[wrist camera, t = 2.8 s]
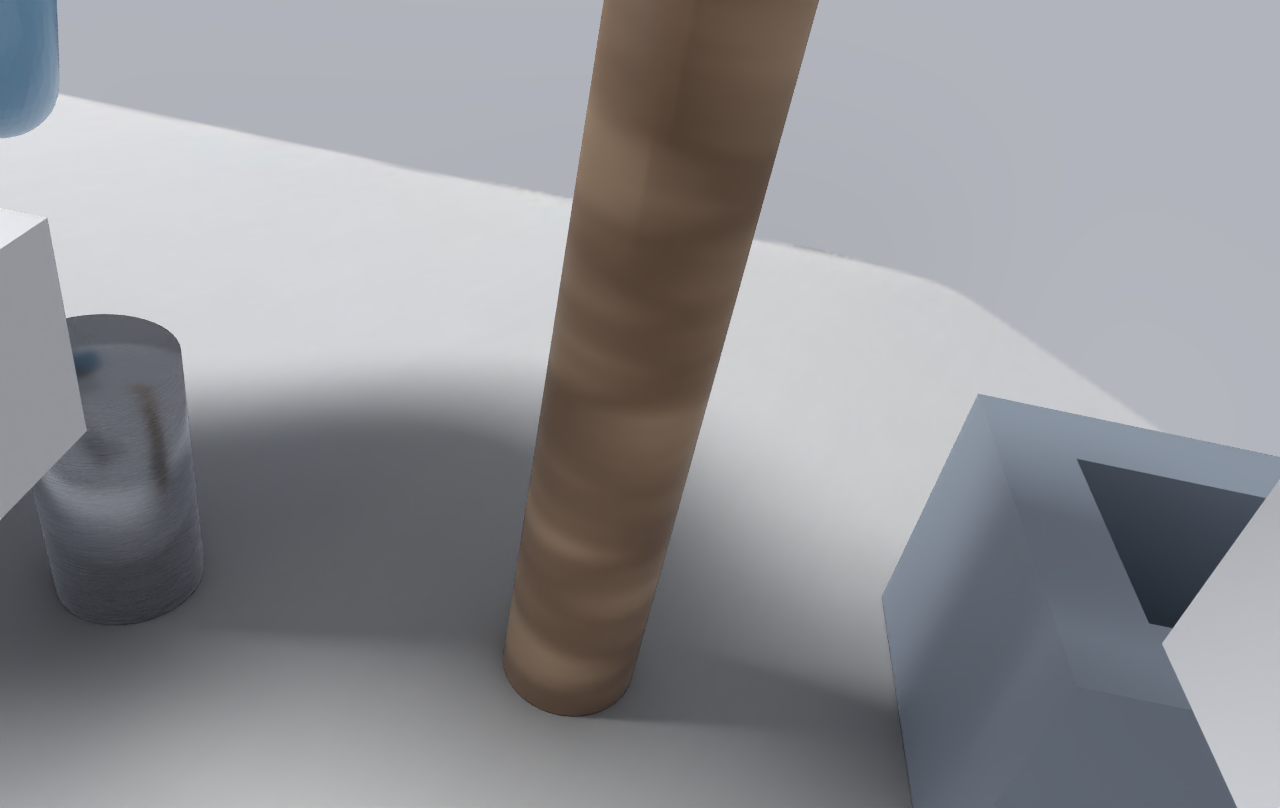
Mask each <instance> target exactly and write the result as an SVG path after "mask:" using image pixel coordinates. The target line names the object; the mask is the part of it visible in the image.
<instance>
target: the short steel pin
mask: <svg viewBox="0 0 1280 808" xmlns="http://www.w3.org/2000/svg"><path fill="white" fill-rule="evenodd" d="M66 322H67V327H68V332H69V338H70V343H71V349H72V354H73V359H74V365H75V370H76V376H77V381H78V386H79V392H80V397H81V403H82V408H83V413H84V419H85V424H86V430H87V431H86V432H85V433H84V434H83V435H82V436H81V437H80V438H79V439H78V441H77V442H76V443H75V444H74V445H73V446H72V447H71V448H70V449H69V450H68V451H67V452H66V453H65V454H64V455H63V456H62V457H61V458H60V459H59V460H58V461H57V462H56V463H55V464H54V465H53V466H52V467H51V468H50V469H49V470H48V471H47V472H46V474H45V475H44V476H43V477H42V478H41V479H40V480H39V481H38V482H37V483H36V484H35V485H34V486H33V487H32V491H33V495H34V499H35V504H36V508H37V512H38V516H39V520H40V525H41V529H42V533H43V537H44V541H45V546H46V550H47V554H48V558H49V562H50V567H51V571H52V575H53V579H54V583H55V587H56V592H57V595H58V598H59V600H60V602H61V604H62V605H63V606H64V607H65V608H66V609H67V610H68V611H69V612H70V613H72V614H73V615H75V616H77V617H78V618H81V619H83V620H86V621H89V622H93V623H98V624H105V625H125V624H132V623H138V622H142V621H146V620H149V619H152V618H155V617H158V616H160V615H163V614H165V613H167V612H169V611H171V610H172V609H174V608H175V607H177V606H179V605H180V604H181V603H183V602H184V601H185V600H186V599H187V598H188V597H189V596H190V595H191V594H192V593H193V592H194V591H195V589H196V588H197V587H198V585H199V583H200V581H201V579H202V576H203V572H204V558H203V548H202V539H201V530H200V521H199V512H198V502H197V493H196V484H195V475H194V466H193V456H192V447H191V438H190V429H189V420H188V410H187V401H186V392H185V383H184V374H183V364H182V355H181V348H180V344H179V342H178V341H177V339H176V338H175V337H174V335H173V334H172V333H170V332H169V331H168V330H167V329H165V328H163V327H162V326H160V325H158V324H156V323H153V322H150V321H148V320H145V319H141V318H137V317H131V316H125V315H112V314H97V315H84V316H77V317H71V318H66Z"/></svg>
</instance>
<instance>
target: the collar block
mask: <svg viewBox="0 0 1280 808" xmlns="http://www.w3.org/2000/svg"><path fill="white" fill-rule="evenodd" d="M1279 479H1280V457H1277V456H1272V455H1268V454H1263V453H1258V452H1253V451H1249V450H1244V449H1239V448H1234V447H1230V446H1224V445H1220V444H1215V443H1210V442H1206V441H1200V440H1196V439H1191V438H1186V437H1181V436H1177V435H1172V434H1167V433H1163V432H1158V431H1153V430H1148V429H1144V428H1139V427H1134V426H1129V425H1124V424H1120V423H1115V422H1110V421H1105V420H1101V419H1096V418H1091V417H1086V416H1082V415H1077V414H1072V413H1067V412H1062V411H1058V410H1053V409H1048V408H1043V407H1039V406H1034V405H1029V404H1024V403H1019V402H1015V401H1010V400H1005V399H1000V398H996V397H991V396H986V395H981V394H978V395H977V398H976V400H975V402H974V404H973V406H972V408H971V410H970V412H969V414H968V416H967V419H966V421H965V423H964V425H963V427H962V429H961V431H960V433H959V435H958V438H957V440H956V442H955V444H954V446H953V448H952V450H951V452H950V454H949V457H948V459H947V461H946V463H945V465H944V467H943V469H942V471H941V473H940V475H939V478H938V480H937V482H936V484H935V486H934V488H933V490H932V492H931V494H930V497H929V499H928V501H927V503H926V505H925V507H924V509H923V511H922V513H921V516H920V518H919V520H918V522H917V524H916V526H915V528H914V530H913V532H912V535H911V537H910V539H909V541H908V543H907V545H906V547H905V549H904V551H903V553H902V556H901V558H900V560H899V562H898V564H897V566H896V568H895V570H894V572H893V575H892V577H891V579H890V581H889V583H888V585H887V587H886V589H885V591H884V594H883V596H882V601H883V608H884V615H885V621H886V628H887V635H888V642H889V649H890V655H891V662H892V669H893V676H894V683H895V689H896V696H897V703H898V710H899V717H900V723H901V730H902V737H903V744H904V751H905V757H906V764H907V771H908V778H909V785H910V792H911V798H912V805H913V808H1237V806H1236V804H1235V802H1234V800H1233V797H1232V795H1231V793H1230V791H1229V789H1228V786H1227V784H1226V782H1225V780H1224V778H1223V776H1222V773H1221V771H1220V769H1219V767H1218V765H1217V763H1216V760H1215V758H1214V756H1213V754H1212V752H1211V749H1210V747H1209V745H1208V743H1207V741H1206V739H1205V736H1204V734H1203V732H1202V730H1201V728H1200V726H1199V723H1198V721H1197V719H1196V717H1195V715H1194V712H1193V710H1192V708H1191V706H1190V704H1189V702H1188V699H1187V697H1186V695H1185V693H1184V691H1183V688H1182V686H1181V684H1180V682H1179V680H1178V678H1177V675H1176V673H1175V671H1174V669H1173V667H1172V665H1171V662H1170V660H1169V658H1168V656H1167V654H1166V651H1165V649H1164V647H1163V645H1162V643H1163V641H1164V640H1165V639H1166V637H1167V636H1168V634H1169V633H1170V632H1171V630H1172V629H1173V627H1174V626H1175V625H1176V623H1177V622H1178V620H1179V619H1180V618H1181V616H1182V615H1183V613H1184V612H1185V611H1186V609H1187V608H1188V606H1189V605H1190V604H1191V602H1192V601H1193V599H1194V598H1195V597H1196V595H1197V594H1198V593H1199V591H1200V590H1201V588H1202V587H1203V586H1204V584H1205V583H1206V581H1207V580H1208V579H1209V577H1210V576H1211V574H1212V573H1213V572H1214V570H1215V569H1216V567H1217V566H1218V565H1219V563H1220V562H1221V560H1222V559H1223V558H1224V556H1225V555H1226V553H1227V552H1228V551H1229V549H1230V548H1231V546H1232V545H1233V544H1234V542H1235V541H1236V539H1237V538H1238V537H1239V535H1240V534H1241V532H1242V531H1243V530H1244V528H1245V527H1246V525H1247V524H1248V523H1249V521H1250V520H1251V518H1252V517H1253V516H1254V514H1255V513H1256V511H1257V510H1258V509H1259V507H1260V506H1261V505H1262V503H1263V502H1264V500H1265V499H1266V498H1267V496H1268V495H1269V493H1270V492H1271V491H1272V489H1273V488H1274V486H1275V485H1276V484H1277V482H1278V481H1279Z"/></svg>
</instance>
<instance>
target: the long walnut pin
mask: <svg viewBox="0 0 1280 808" xmlns="http://www.w3.org/2000/svg"><path fill="white" fill-rule="evenodd" d="M818 2H819V0H604V3H603V9H602V16H601V22H600V29H599V35H598V42H597V48H596V55H595V62H594V68H593V75H592V81H591V87H590V94H589V100H588V107H587V113H586V120H585V126H584V133H583V139H582V147H581V152H580V159H579V166H578V172H577V178H576V185H575V191H574V198H573V204H572V211H571V217H570V224H569V230H568V237H567V243H566V250H565V256H564V263H563V269H562V276H561V282H560V289H559V296H558V302H557V309H556V315H555V322H554V328H553V335H552V341H551V348H550V354H549V361H548V367H547V374H546V380H545V387H544V393H543V400H542V406H541V413H540V419H539V426H538V432H537V439H536V445H535V452H534V458H533V465H532V471H531V478H530V484H529V491H528V497H527V504H526V510H525V517H524V523H523V530H522V536H521V543H520V549H519V556H518V562H517V569H516V575H515V582H514V588H513V595H512V601H511V608H510V614H509V621H508V627H507V634H506V640H505V647H504V653H503V664H504V669H505V673H506V676H507V678H508V680H509V682H510V684H511V685H512V686H513V688H514V689H515V690H516V692H517V693H518V694H519V695H520V696H521V697H523V698H524V699H525V700H526V701H528V702H529V703H531V704H532V705H534V706H536V707H538V708H540V709H542V710H544V711H547V712H550V713H554V714H558V715H565V716H582V715H588V714H593V713H596V712H599V711H602V710H604V709H606V708H608V707H609V706H611V705H612V704H614V703H615V702H616V701H617V700H618V699H620V698H621V696H622V695H623V694H624V693H625V691H626V689H627V688H628V686H629V683H630V681H631V678H632V674H633V670H634V667H635V663H636V660H637V656H638V652H639V649H640V645H641V642H642V638H643V634H644V631H645V627H646V623H647V620H648V616H649V613H650V609H651V605H652V602H653V598H654V595H655V591H656V587H657V584H658V580H659V576H660V573H661V569H662V566H663V562H664V558H665V555H666V551H667V548H668V544H669V540H670V537H671V533H672V530H673V526H674V522H675V519H676V515H677V511H678V508H679V504H680V501H681V497H682V493H683V490H684V486H685V483H686V479H687V475H688V472H689V468H690V464H691V461H692V457H693V454H694V450H695V446H696V443H697V439H698V436H699V432H700V428H701V425H702V421H703V418H704V414H705V410H706V407H707V403H708V399H709V396H710V392H711V389H712V385H713V381H714V378H715V374H716V371H717V367H718V363H719V360H720V356H721V352H722V349H723V345H724V342H725V338H726V334H727V331H728V327H729V324H730V320H731V316H732V313H733V309H734V306H735V302H736V298H737V295H738V291H739V287H740V284H741V280H742V277H743V273H744V269H745V266H746V262H747V259H748V255H749V251H750V248H751V244H752V240H753V237H754V233H755V230H756V226H757V222H758V219H759V215H760V212H761V208H762V204H763V200H764V197H765V193H766V190H767V186H768V182H769V179H770V175H771V172H772V168H773V164H774V161H775V157H776V154H777V150H778V146H779V143H780V139H781V136H782V132H783V128H784V125H785V121H786V118H787V114H788V110H789V107H790V103H791V99H792V96H793V92H794V89H795V85H796V81H797V78H798V74H799V71H800V67H801V63H802V60H803V56H804V52H805V49H806V45H807V42H808V38H809V34H810V31H811V27H812V24H813V20H814V16H815V13H816V9H817V5H818Z"/></svg>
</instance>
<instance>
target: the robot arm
mask: <svg viewBox="0 0 1280 808" xmlns="http://www.w3.org/2000/svg"><path fill="white" fill-rule="evenodd" d="M58 51H59V48H58V20H57V0H0V138H9V137H14V136H18V135H22V134H24V133H27V132H29V131H31V130H33V129H34V128H36V127H37V126H39V125H40V124H41V123H42V122H43V121H44V120H45V119H46V118H47V117H48V116H49V114H50V113H51V111H52V110H53V108H54V106H55V103H56V100H57V97H58V92H59V52H58ZM86 431H87V430H86V424H85V419H84V413H83V408H82V403H81V397H80V392H79V386H78V381H77V376H76V370H75V365H74V359H73V354H72V349H71V343H70V338H69V332H68V327H67V322H66V316H65V311H64V305H63V300H62V295H61V289H60V284H59V278H58V273H57V268H56V262H55V257H54V251H53V246H52V241H51V235H50V230H49V224H48V219H47V217H42V216H37V215H32V214H27V213H22V212H17V211H12V210H7V209H2V208H0V520H1V519H2V518H3V517H4V516H5V515H6V514H7V513H8V512H9V511H10V510H11V509H12V508H13V507H14V505H15V504H16V503H17V502H18V501H19V500H20V499H21V498H22V497H23V496H24V495H25V494H26V493H27V492H28V491H29V490H30V489H31V488H32V487H33V486H34V485H35V484H36V483H37V482H38V481H39V480H40V479H41V478H42V477H43V476H44V475H45V474H46V472H47V471H48V470H49V469H50V468H51V467H52V466H53V465H54V464H55V463H56V462H57V461H58V460H59V459H60V458H61V457H62V456H63V455H64V454H65V453H66V452H67V451H68V450H69V449H70V448H71V447H72V446H73V445H74V444H75V443H76V442H77V441H78V439H79V438H80V437H81V436H82V435H83V434H84V433H85V432H86ZM1162 645H1163V647H1164V649H1165V651H1166V654H1167V656H1168V658H1169V660H1170V662H1171V665H1172V667H1173V669H1174V671H1175V673H1176V675H1177V678H1178V680H1179V682H1180V684H1181V686H1182V688H1183V691H1184V693H1185V695H1186V697H1187V699H1188V702H1189V704H1190V706H1191V708H1192V710H1193V712H1194V715H1195V717H1196V719H1197V721H1198V723H1199V726H1200V728H1201V730H1202V732H1203V734H1204V736H1205V739H1206V741H1207V743H1208V745H1209V747H1210V749H1211V752H1212V754H1213V756H1214V758H1215V760H1216V763H1217V765H1218V767H1219V769H1220V771H1221V773H1222V776H1223V778H1224V780H1225V782H1226V784H1227V786H1228V789H1229V791H1230V793H1231V795H1232V797H1233V800H1234V802H1235V804H1236V806H1237V808H1280V479H1279V481H1278V482H1277V484H1276V485H1275V486H1274V488H1273V489H1272V491H1271V492H1270V493H1269V495H1268V496H1267V498H1266V499H1265V500H1264V502H1263V503H1262V505H1261V506H1260V507H1259V509H1258V510H1257V511H1256V513H1255V514H1254V516H1253V517H1252V518H1251V520H1250V521H1249V523H1248V524H1247V525H1246V527H1245V528H1244V530H1243V531H1242V532H1241V534H1240V535H1239V537H1238V538H1237V539H1236V541H1235V542H1234V544H1233V545H1232V546H1231V548H1230V549H1229V551H1228V552H1227V553H1226V555H1225V556H1224V558H1223V559H1222V560H1221V562H1220V563H1219V565H1218V566H1217V567H1216V569H1215V570H1214V572H1213V573H1212V574H1211V576H1210V577H1209V579H1208V580H1207V581H1206V583H1205V584H1204V586H1203V587H1202V588H1201V590H1200V591H1199V593H1198V594H1197V595H1196V597H1195V598H1194V599H1193V601H1192V602H1191V604H1190V605H1189V606H1188V608H1187V609H1186V611H1185V612H1184V613H1183V615H1182V616H1181V618H1180V619H1179V620H1178V622H1177V623H1176V625H1175V626H1174V627H1173V629H1172V630H1171V632H1170V633H1169V634H1168V636H1167V637H1166V639H1165V640H1164V641H1163V643H1162Z"/></svg>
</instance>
